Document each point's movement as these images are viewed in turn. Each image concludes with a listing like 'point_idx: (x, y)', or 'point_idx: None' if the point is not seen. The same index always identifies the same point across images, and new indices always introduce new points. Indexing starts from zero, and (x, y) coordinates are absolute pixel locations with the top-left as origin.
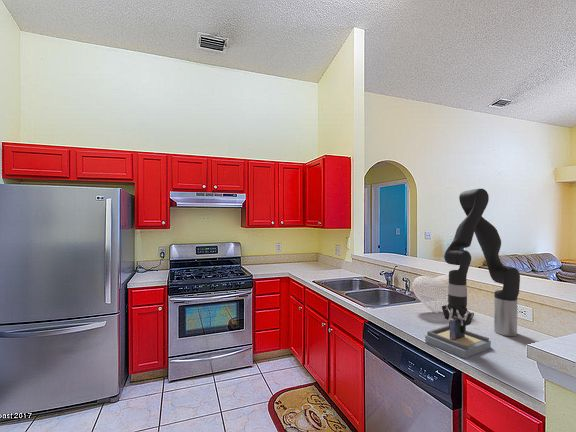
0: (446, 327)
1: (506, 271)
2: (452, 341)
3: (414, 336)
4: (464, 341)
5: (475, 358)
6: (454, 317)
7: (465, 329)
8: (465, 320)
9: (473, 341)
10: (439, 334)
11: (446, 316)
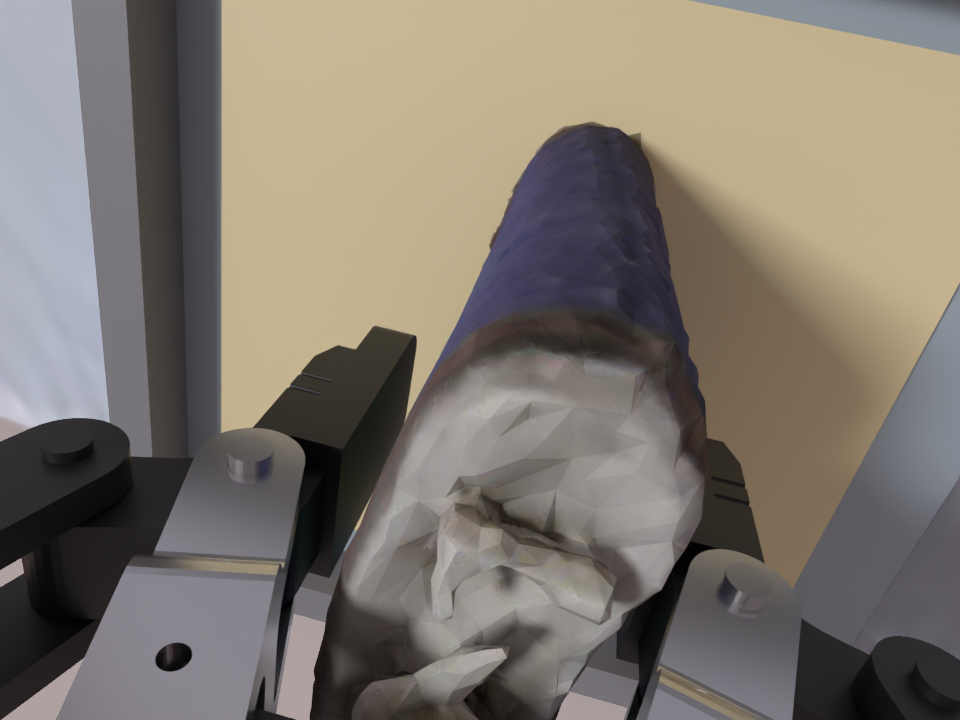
0: (136, 22)
1: None
2: (577, 688)
3: (22, 423)
4: (709, 434)
5: (900, 576)
6: (326, 702)
7: (745, 509)
8: (789, 711)
9: (875, 309)
10: (254, 411)
11: (66, 653)
